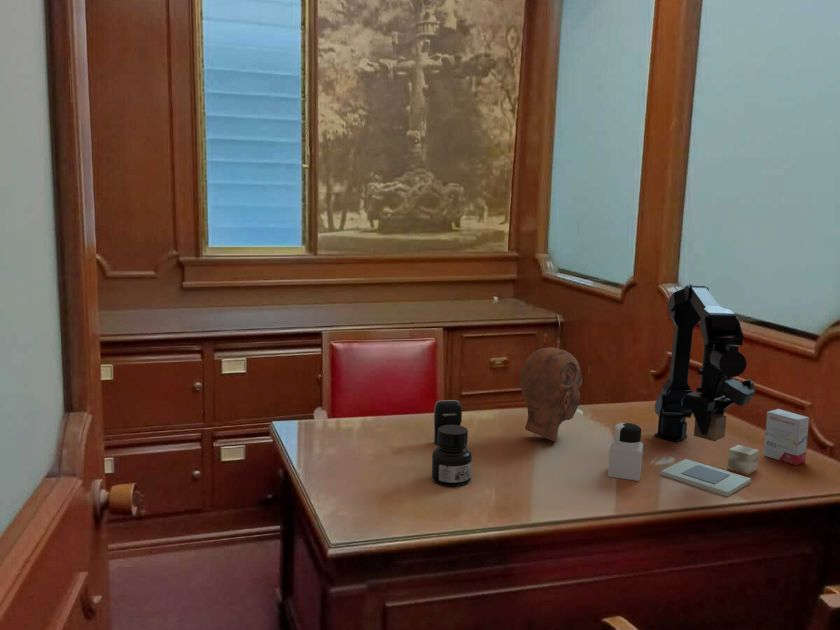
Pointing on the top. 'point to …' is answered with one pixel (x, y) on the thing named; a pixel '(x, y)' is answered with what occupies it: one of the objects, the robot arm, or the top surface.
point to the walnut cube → (713, 428)
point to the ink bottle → (452, 456)
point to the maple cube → (743, 459)
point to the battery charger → (446, 415)
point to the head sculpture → (550, 390)
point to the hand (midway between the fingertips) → (709, 432)
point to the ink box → (786, 436)
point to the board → (706, 477)
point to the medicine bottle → (626, 452)
